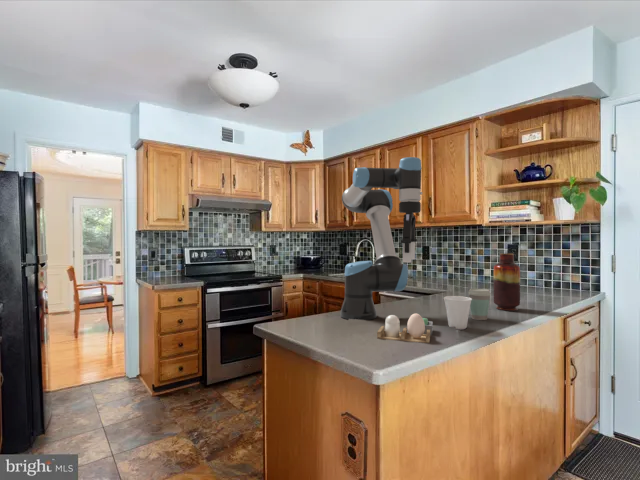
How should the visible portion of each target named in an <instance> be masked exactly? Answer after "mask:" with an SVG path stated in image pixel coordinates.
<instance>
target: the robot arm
mask: <svg viewBox="0 0 640 480" xmlns="http://www.w3.org/2000/svg"><path fill="white" fill-rule="evenodd" d="M374 188H375V189H374ZM387 189H393V190H398V201H399V203H398V212H399V213H401V214H404V215H403V225H402V227H403V229H402V240H400V243H401V244H402V260H401V258H400V257H399V256H398V255H397V254H396V249H395V245H394V239H393V234H392V229H391V225H390V220H389V216H390V214H391V212H392V211H393V207H394V206H393V205H394V203H393V197H392V195H391V192H390V191H388V190H387ZM421 190H422V160H421V158H419V157H414V156H413V157H412V156H411V157H410V156H409V157H408V156H407V157H402V158H401V159H399V165H398V167H397V168H396V167H395V168H394V167H365V166H362V167H355V168H354V170H353V173H352V184H351V185H350V186H349V187H348V188H346V189H345V190H344V192H343V193H342V195H341V202H342V204H343V206H344V208H346V209H347V210H348V211H350V212H353V213H356V214H365V216H366V218H367V220H369V221H370V226H371V233H372V239H373V243H374V245H373V246H374V251H375V256H376V259H375V260H374V262H373V261H372V260H361V261H360V260H359V261H355V262H349V263H347V264H346V265H345V267H344V300H343V302H342V305H341V309H340V318H342V319H346V320H358V321H359V320H361V321H370V320H374V319H376V318H377V317H378V316H377V313H378V312H377V309H376V306H375V304H374V300H373V293H374V292H392V293H393V292H402V291H404V289H405V288H406V286H407V284H408V280H409V268H408V265H407V264H406V263H409V264H411V263H412V260H416V257H415V256H416V243H417V242H418V240H417V238H416V219H417V218H416V215H414V214H417V213H421V210H422V208H421V206H422V204H421V202H420V201H421V199H422V198H421V197H422V196H421V195H423V192H422V191H421Z"/></svg>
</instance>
